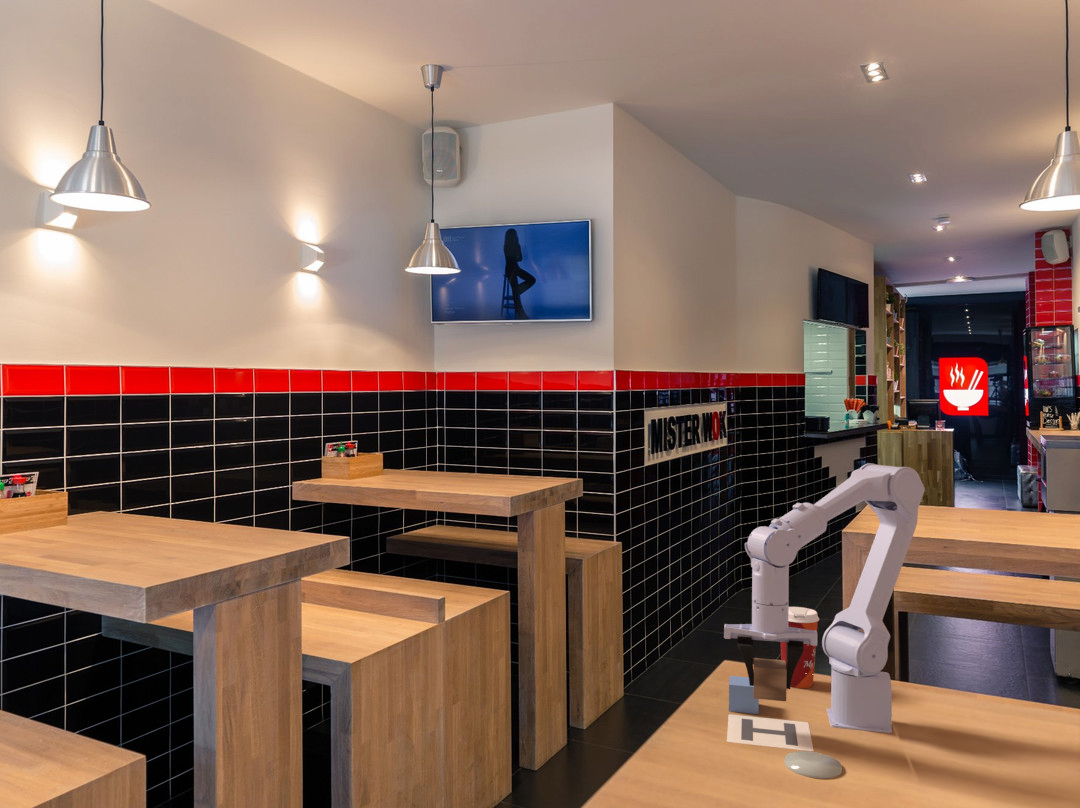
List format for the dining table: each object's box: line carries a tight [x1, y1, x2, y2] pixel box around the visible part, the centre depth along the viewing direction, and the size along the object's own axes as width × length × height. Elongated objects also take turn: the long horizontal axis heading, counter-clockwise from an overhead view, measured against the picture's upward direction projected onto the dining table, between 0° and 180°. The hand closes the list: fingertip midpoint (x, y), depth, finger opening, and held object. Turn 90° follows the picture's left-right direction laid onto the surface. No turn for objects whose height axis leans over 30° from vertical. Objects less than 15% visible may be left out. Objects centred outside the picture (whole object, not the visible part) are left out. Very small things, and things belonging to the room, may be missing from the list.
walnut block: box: [753, 657, 787, 702], centre depth 132 cm, size 5×5×5 cm
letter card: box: [726, 713, 815, 752], centre depth 132 cm, size 13×12×1 cm
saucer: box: [784, 750, 843, 780], centre depth 120 cm, size 8×8×1 cm
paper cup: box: [780, 606, 820, 689], centre depth 157 cm, size 8×8×14 cm
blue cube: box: [728, 675, 760, 715], centre depth 143 cm, size 5×5×5 cm
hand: (769, 685), depth 132 cm, fingers closed on walnut block, 5 cm apart
